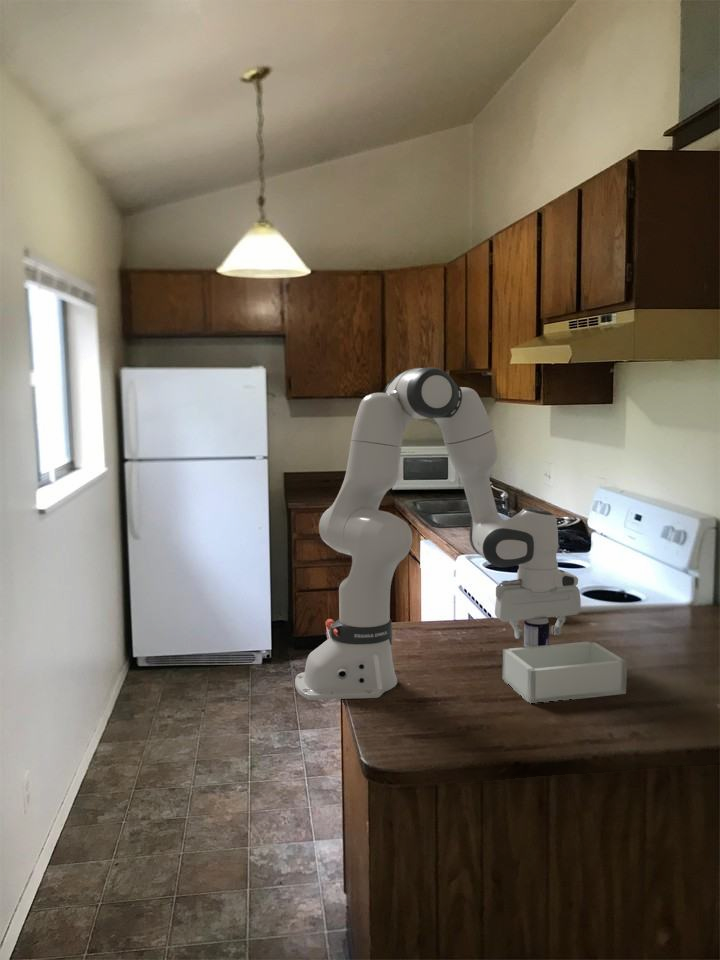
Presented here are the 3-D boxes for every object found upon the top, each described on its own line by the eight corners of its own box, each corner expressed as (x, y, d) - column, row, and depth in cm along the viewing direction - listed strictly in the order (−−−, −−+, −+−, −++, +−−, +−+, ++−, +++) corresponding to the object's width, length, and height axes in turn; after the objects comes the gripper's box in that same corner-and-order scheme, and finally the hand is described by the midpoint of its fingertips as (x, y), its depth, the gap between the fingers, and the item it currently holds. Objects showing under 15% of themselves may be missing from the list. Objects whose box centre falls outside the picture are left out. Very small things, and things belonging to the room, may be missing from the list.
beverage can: (548, 671, 182) (550, 620, 180) (523, 669, 183) (524, 618, 182) (548, 662, 187) (549, 613, 186) (523, 661, 188) (524, 611, 187)
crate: (529, 704, 163) (530, 671, 162) (502, 679, 177) (502, 649, 176) (626, 693, 168) (627, 661, 168) (592, 670, 182) (592, 641, 181)
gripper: (501, 584, 177) (501, 644, 179) (584, 577, 182) (583, 635, 184) (490, 578, 184) (490, 636, 185) (571, 571, 188) (570, 627, 190)
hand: (537, 635), depth 185 cm, fingers open, 8 cm apart
